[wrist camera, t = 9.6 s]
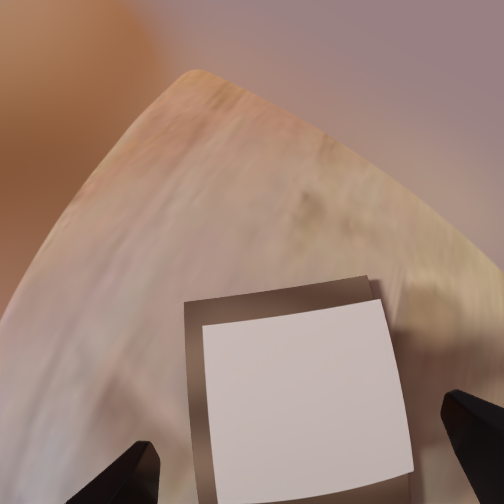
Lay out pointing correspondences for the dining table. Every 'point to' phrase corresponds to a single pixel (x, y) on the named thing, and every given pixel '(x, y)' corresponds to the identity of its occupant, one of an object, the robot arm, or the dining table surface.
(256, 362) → the tan box white top
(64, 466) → the dining table surface
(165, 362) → the dining table surface
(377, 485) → the square socket base
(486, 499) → the robot arm
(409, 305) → the dining table surface
